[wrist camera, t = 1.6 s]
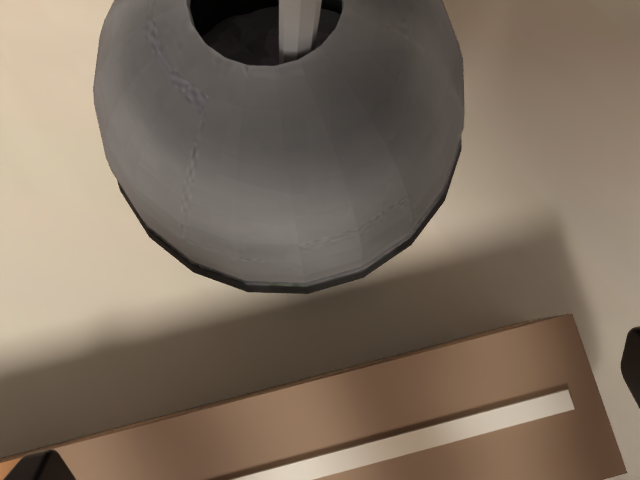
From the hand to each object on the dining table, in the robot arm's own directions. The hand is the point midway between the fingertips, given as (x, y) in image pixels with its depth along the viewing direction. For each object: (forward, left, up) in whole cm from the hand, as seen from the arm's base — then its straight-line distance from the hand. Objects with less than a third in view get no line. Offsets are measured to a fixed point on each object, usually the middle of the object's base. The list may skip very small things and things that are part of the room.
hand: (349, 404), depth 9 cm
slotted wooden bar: (-1, +6, -13) cm, 14 cm away
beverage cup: (+5, -2, -13) cm, 14 cm away
